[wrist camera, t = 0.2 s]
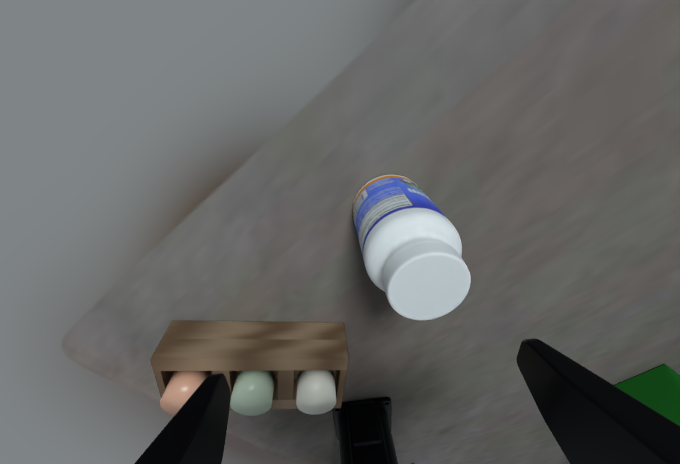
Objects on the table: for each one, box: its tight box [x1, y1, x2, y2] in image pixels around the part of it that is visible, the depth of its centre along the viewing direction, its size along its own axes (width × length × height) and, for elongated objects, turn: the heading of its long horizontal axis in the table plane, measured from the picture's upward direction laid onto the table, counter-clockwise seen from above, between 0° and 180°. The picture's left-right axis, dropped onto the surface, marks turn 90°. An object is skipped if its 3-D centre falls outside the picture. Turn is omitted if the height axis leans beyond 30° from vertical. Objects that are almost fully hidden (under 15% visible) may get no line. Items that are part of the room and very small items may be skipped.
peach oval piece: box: [160, 371, 211, 416], centre depth 24 cm, size 3×3×2 cm
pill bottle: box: [353, 175, 471, 320], centre depth 18 cm, size 5×5×10 cm
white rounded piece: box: [296, 370, 336, 415], centre depth 25 cm, size 3×3×2 cm
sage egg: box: [230, 371, 275, 416], centre depth 24 cm, size 3×3×2 cm
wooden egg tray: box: [150, 321, 348, 410], centre depth 26 cm, size 15×6×4 cm, turn 85°
